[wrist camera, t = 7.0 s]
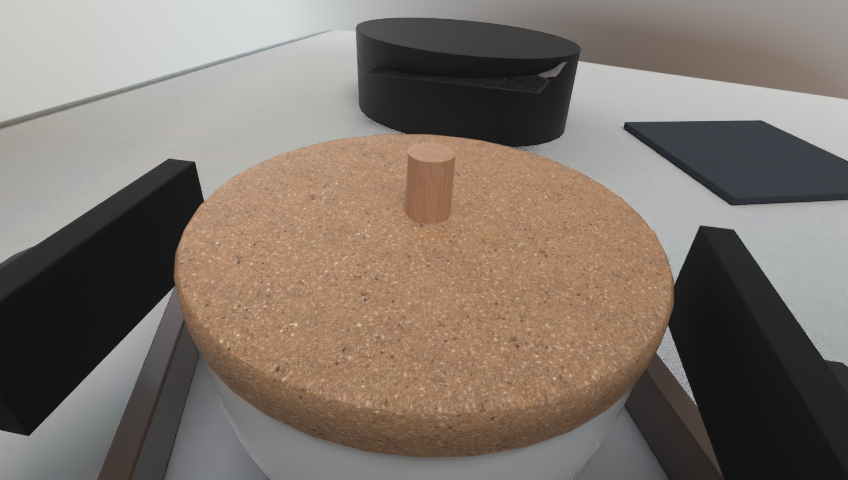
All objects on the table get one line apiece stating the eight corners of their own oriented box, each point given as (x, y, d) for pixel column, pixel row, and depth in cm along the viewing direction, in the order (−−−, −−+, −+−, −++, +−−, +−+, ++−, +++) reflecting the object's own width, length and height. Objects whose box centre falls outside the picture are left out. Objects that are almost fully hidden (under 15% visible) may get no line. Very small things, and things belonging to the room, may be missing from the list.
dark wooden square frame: (848, 710, 10) (905, 679, 9) (-20, 939, 7) (-89, 934, 6) (552, 261, 23) (561, 226, 22) (199, 284, 21) (189, 246, 19)
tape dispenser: (405, 88, 50) (401, 8, 45) (583, 109, 43) (598, 18, 39) (320, 136, 39) (305, 38, 35) (540, 175, 32) (554, 58, 28)
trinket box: (341, 285, 21) (329, 63, 16) (595, 355, 18) (681, 115, 13) (148, 527, 12) (-18, 216, 7) (569, 724, 10) (785, 456, 5)
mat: (905, 197, 31) (910, 190, 31) (731, 205, 29) (735, 197, 29) (758, 125, 42) (761, 120, 42) (622, 127, 40) (624, 121, 40)
